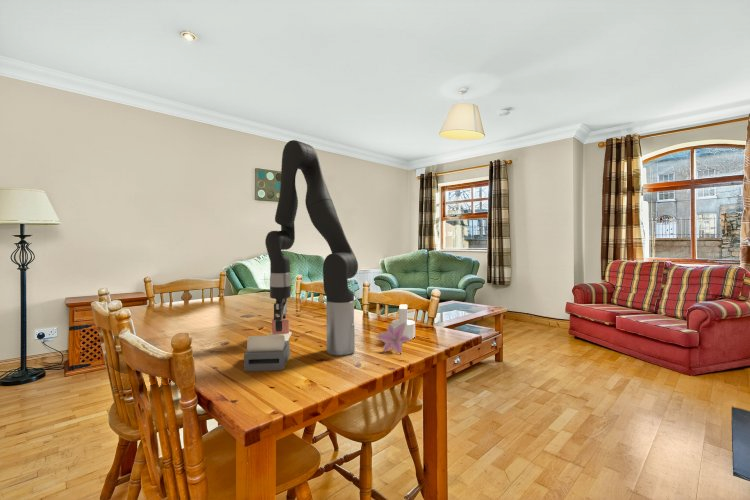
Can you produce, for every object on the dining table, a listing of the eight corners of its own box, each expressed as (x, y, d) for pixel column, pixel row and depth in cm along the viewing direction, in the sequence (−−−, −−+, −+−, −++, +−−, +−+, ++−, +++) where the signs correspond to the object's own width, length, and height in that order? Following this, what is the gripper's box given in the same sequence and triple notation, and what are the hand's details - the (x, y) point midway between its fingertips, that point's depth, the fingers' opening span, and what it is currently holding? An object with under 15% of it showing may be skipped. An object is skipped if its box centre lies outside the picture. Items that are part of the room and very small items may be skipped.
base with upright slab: (392, 334, 140) (392, 304, 139) (414, 334, 139) (415, 304, 138) (390, 340, 131) (390, 308, 130) (415, 341, 130) (415, 309, 130)
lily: (373, 350, 123) (371, 331, 119) (395, 333, 129) (393, 315, 124) (396, 367, 116) (394, 348, 111) (417, 348, 122) (417, 330, 117)
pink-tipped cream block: (291, 333, 132) (291, 318, 132) (283, 350, 113) (283, 332, 112) (270, 333, 132) (270, 319, 131) (258, 351, 112) (258, 333, 112)
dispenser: (290, 354, 116) (289, 326, 116) (283, 369, 102) (283, 339, 102) (255, 355, 115) (255, 327, 114) (244, 371, 101) (243, 340, 100)
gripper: (288, 287, 124) (288, 333, 124) (293, 282, 138) (293, 323, 139) (266, 287, 123) (266, 333, 124) (273, 282, 137) (274, 323, 138)
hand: (280, 328), depth 131 cm, fingers open, 8 cm apart
